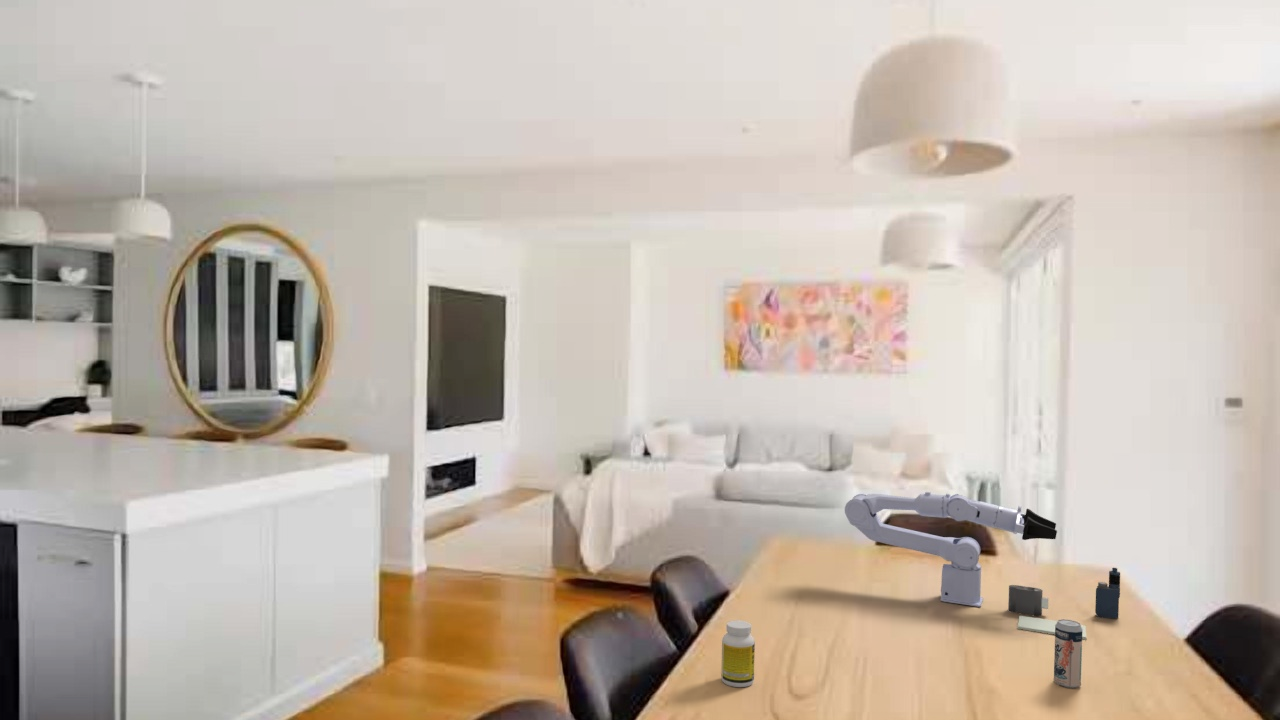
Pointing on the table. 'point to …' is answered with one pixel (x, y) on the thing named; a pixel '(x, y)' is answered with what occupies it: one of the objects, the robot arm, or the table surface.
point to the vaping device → (1108, 596)
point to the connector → (1026, 600)
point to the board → (1041, 625)
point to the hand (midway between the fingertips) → (1055, 531)
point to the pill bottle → (738, 654)
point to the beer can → (1068, 653)
